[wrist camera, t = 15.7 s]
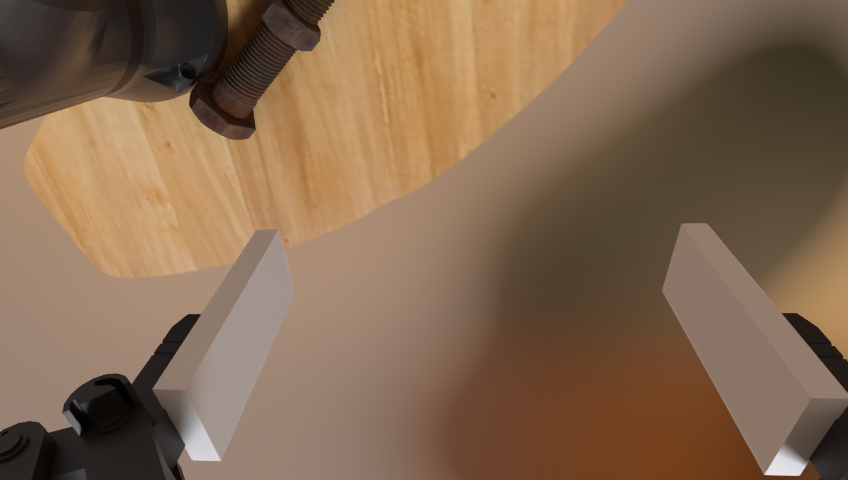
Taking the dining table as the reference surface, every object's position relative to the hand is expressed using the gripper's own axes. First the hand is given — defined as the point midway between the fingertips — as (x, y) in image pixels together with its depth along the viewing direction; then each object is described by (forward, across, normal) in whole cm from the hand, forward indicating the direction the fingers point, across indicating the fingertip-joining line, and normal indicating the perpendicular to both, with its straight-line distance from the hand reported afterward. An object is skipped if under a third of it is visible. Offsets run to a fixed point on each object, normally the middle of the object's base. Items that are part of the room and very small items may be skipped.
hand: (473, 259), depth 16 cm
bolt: (+28, -15, +2) cm, 32 cm away
